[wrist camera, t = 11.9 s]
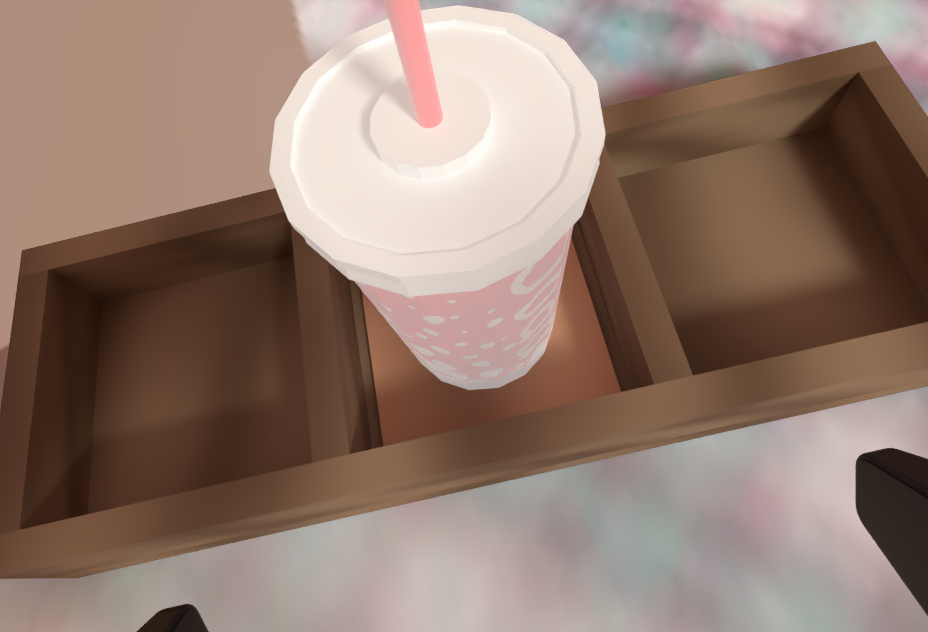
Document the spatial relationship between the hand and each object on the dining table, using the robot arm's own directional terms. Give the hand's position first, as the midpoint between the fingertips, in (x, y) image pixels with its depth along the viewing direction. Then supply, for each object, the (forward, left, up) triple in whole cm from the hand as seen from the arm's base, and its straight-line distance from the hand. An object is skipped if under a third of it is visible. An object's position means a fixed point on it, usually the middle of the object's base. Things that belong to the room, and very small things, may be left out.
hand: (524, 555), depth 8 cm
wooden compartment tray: (+5, +5, -10) cm, 12 cm away
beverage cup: (+5, +5, -9) cm, 12 cm away
